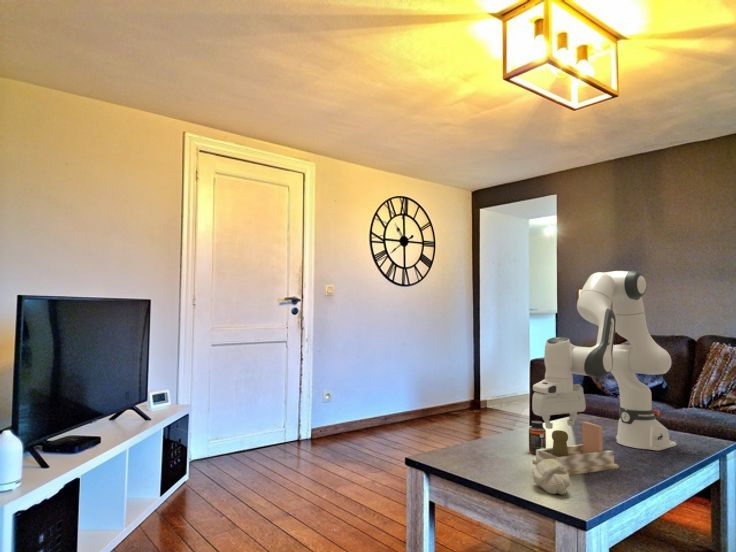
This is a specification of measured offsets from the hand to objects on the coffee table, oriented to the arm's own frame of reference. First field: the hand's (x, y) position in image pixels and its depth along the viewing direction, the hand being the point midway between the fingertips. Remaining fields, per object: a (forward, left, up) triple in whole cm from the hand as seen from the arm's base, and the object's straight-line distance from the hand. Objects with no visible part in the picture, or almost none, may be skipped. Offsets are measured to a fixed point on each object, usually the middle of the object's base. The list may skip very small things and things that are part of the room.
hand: (560, 426), depth 161 cm
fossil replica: (+18, +15, -14) cm, 27 cm away
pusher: (-14, 0, -12) cm, 19 cm away
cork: (0, 0, -13) cm, 13 cm away
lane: (-6, 0, -13) cm, 15 cm away
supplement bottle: (-4, -16, -14) cm, 21 cm away
